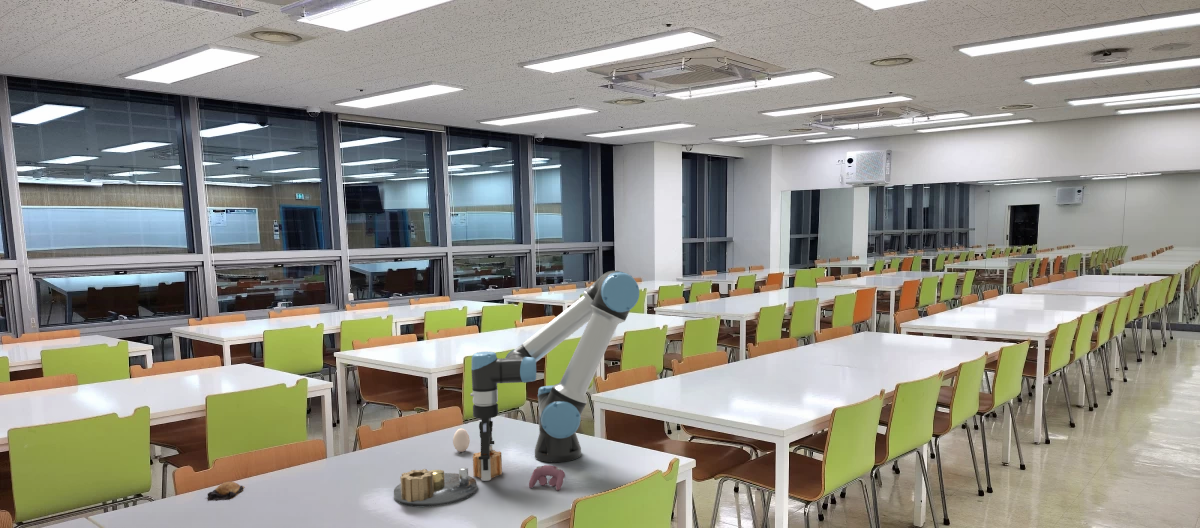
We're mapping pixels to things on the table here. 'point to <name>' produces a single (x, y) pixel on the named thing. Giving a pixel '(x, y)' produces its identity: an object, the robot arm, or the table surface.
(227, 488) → the brown and black mound
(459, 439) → the egg
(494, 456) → the planet gear
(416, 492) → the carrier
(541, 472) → the video game controller
